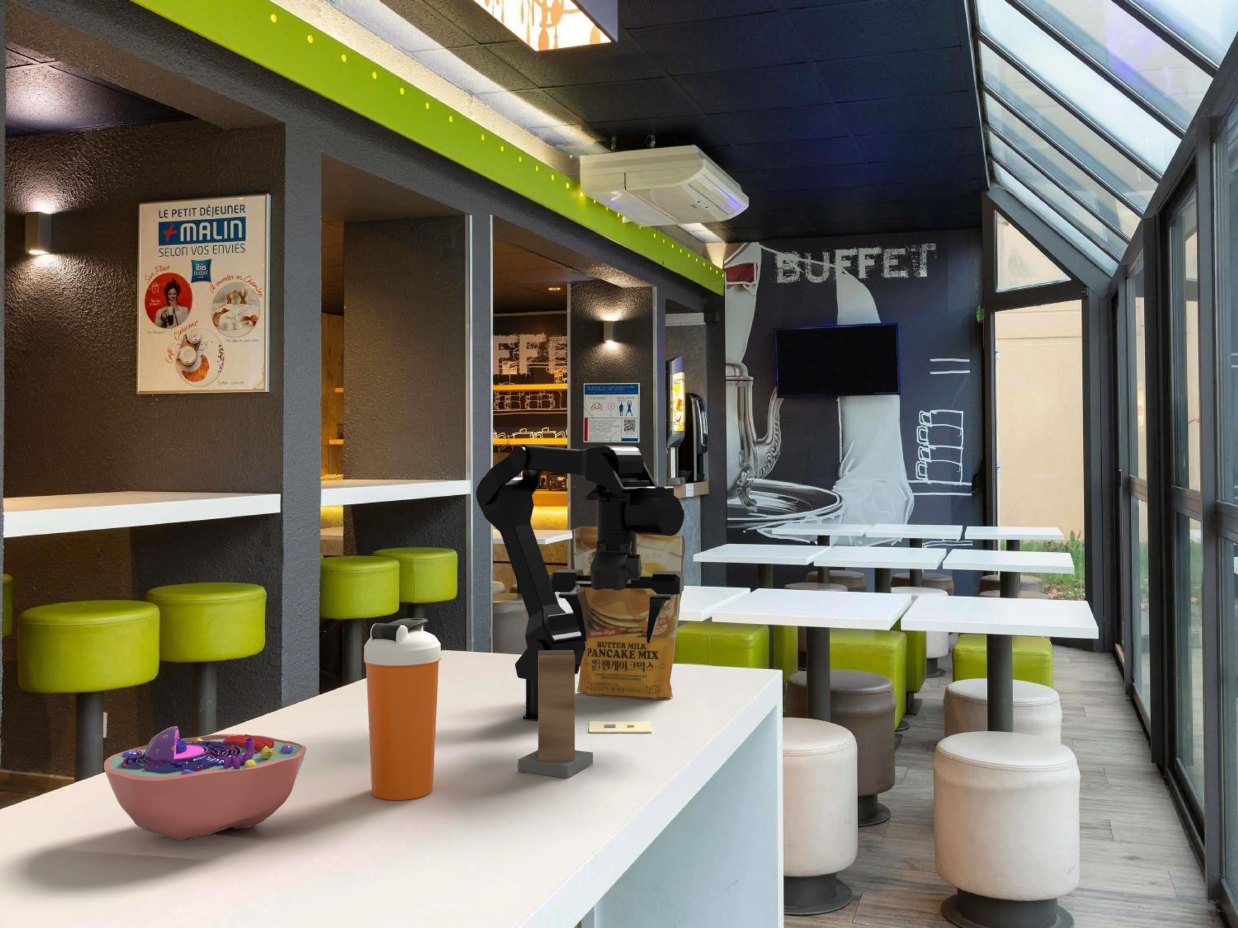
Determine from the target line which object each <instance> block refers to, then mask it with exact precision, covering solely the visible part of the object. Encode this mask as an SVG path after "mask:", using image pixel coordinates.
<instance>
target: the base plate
mask: <svg viewBox="0 0 1238 928" xmlns="http://www.w3.org/2000/svg"><path fill="white" fill-rule="evenodd" d="M592 765H594V752H592V751H587V750H578V749H575V760H561V761H539V757H538V749H536V750H535V751H533V752H530V753H528V754H526V755H525V756H522V757H520V758H518V759H517V768H518V769H517V772H520V773H528V774H535V775H541V776H550V777H555V778H557V777H558V778H564V779H569V778H571V777H573V776H574V775H576V774H578V773H580V772H581V771H583V770H585V769H587V768H588V767H590V766H592Z"/></svg>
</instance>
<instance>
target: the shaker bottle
mask: <svg viewBox="0 0 1238 928" xmlns="http://www.w3.org/2000/svg"><path fill="white" fill-rule="evenodd" d="M426 623H429V619H428V618H424V617H423V618H422V617H420V618H419V617H411V618H402V619H397V620H395V621H394V620H393V621H391V622H389V623H383V622H382V623H380V622H379V623H378V622H376V623H374V624H372V626H371V629H370V637H369V639H368V640H367V641H366V643H365V644H364V647H363V663H364V664H365V668H366V669H365V671H366V673H365V674H366V691H367V693H366V694H367V715H368V731H369V732H368V736H369V739H368V740H369V759H370V761H369V762H370V779H371V781H370V782H371V784H370V785H371V794H372V795H373V797H376V798H377V799H382V800H387V801H406V800H413V799H418V798H422V797H426V796H428V795H429V794H431V793H432V791H433V789H434V770H435V752H436V750H435V748H436V727H437V726H436V725H437V711H438V709H437V708H438V707H437V705H438V687H439V685H438V684H439V664H440V661H441V659H442V658H441V657H442V656H441V655H442V653H441V651H442V649H441V642H440V641H439V640H438V638H437V637H436V635H435V634H432V633H430V632H428V631H425V630H424V624H426Z"/></svg>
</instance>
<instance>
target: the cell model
mask: <svg viewBox="0 0 1238 928" xmlns="http://www.w3.org/2000/svg"><path fill="white" fill-rule="evenodd" d="M306 752H307V747H306V745H303V744H300V743H297V742H294V741H291V740H290V741H289V740H285V739H284V740H282V739H279V738H276V737H272V736H266V735H256V734H247V733H245V734H240V733H239V734H238V733H218V734H209V735H202V736H195V737H189V738H188V737H187V738H180V731H179V728H178V726H177V725H176V726H171V727H167V728H166V729H164V730H162V731H161V732H159V733H157V734H156V735H154V736H153V737H152V738H151V739H150V740H149V742H148V744H147V745H143V746H137V747H134V748H131V749H128V750H124V751H122V752H119V753H115V754H113V755H111V756H110V757H108V758H107V759H105V761H104V763H103V768H104V771H105V775H106V777H107V779H108V782H109V784H110V787H111V791H112V792H113V794H114V797H115V799H116V800H117V803H118V805H120V808H121V809H122V810H123V811H124V812H125V813H126V815H128V816H129V818H130V819H131V820H132V821H133V823H134V824H135V825H136V826H137V827H138V828H140V829H142V830H144V831H147V832H151V833H153V834H157V835H159V836H161V837H164V838H168V839H170V840H175V841H187V840H191V839H193V838H196V837H203V836H208V835H212V834H215V833H218V832H221V831H224V830H230V829H246V828H250V827H254V826H256V825H259V824H261V823H262V822H264V821H266V820H267V819H268V818H269V817H271V816H272V815H273V814H274V813H275V812H276V811H277V810H279V808H280V807H282V806H283V805H284V804H285V802H286V801H287V799H288V798H289V797H290V796H291V793H292V792H293V788H294V785H295V782H296V778H297V776H298V774H299V771H300V769H301V766H302V764H303V760H304V758H305V755H306Z"/></svg>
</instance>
